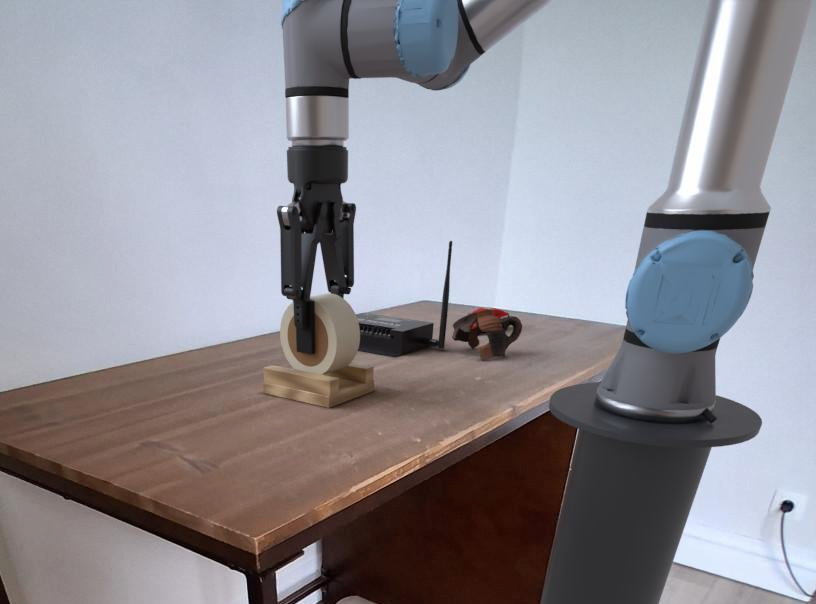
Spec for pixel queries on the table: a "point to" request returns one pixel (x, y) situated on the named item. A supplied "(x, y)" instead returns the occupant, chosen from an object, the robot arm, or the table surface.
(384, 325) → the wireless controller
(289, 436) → the table surface
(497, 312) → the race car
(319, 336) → the tape roll
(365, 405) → the table surface
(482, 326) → the pottery mug
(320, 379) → the tape holder
